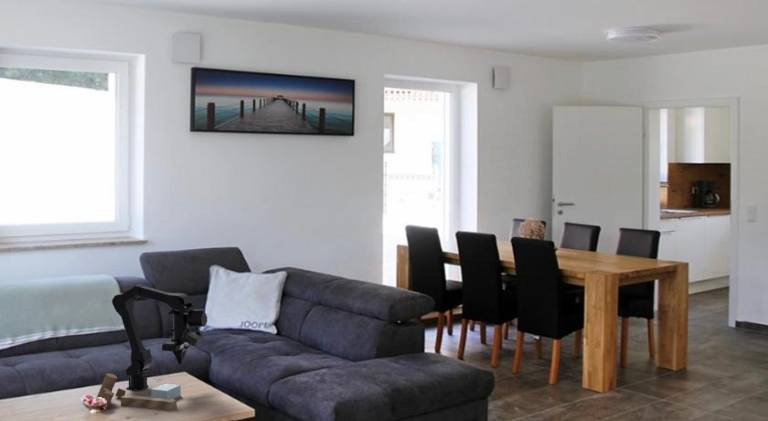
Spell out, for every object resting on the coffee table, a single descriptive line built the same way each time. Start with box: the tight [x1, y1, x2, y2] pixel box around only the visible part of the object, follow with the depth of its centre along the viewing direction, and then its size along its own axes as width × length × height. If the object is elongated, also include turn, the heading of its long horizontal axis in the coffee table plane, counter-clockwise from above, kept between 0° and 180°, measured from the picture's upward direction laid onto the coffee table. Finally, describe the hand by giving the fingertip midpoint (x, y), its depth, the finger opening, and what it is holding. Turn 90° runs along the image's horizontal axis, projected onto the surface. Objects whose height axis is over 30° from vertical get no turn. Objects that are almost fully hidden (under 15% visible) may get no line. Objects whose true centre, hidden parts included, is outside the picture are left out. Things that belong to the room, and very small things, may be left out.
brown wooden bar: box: [120, 394, 178, 411], centre depth 297 cm, size 22×3×3 cm, turn 73°
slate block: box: [151, 383, 182, 400], centre depth 309 cm, size 7×9×4 cm
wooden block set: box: [96, 373, 127, 410], centre depth 302 cm, size 18×9×10 cm, turn 2°
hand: (180, 364), depth 319 cm, fingers closed
